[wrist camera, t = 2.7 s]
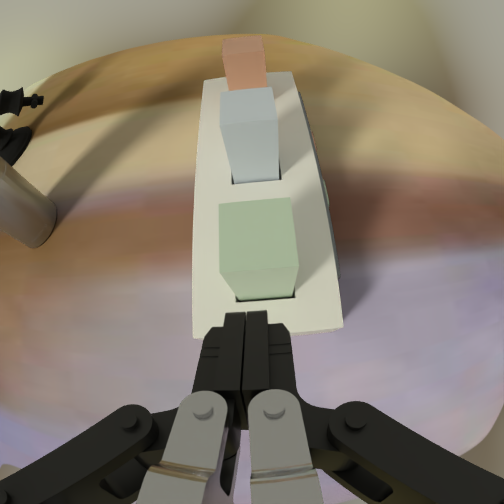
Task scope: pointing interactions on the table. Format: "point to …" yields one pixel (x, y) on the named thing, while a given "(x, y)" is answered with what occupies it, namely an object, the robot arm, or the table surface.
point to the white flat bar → (289, 185)
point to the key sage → (258, 248)
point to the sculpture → (16, 141)
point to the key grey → (250, 134)
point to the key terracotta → (244, 62)
